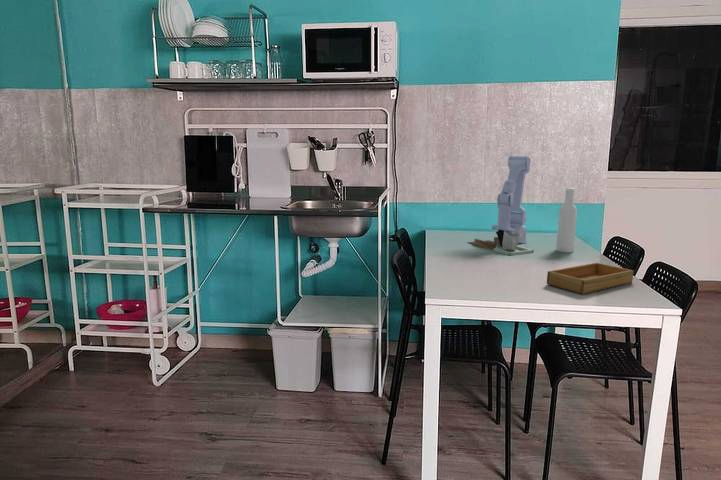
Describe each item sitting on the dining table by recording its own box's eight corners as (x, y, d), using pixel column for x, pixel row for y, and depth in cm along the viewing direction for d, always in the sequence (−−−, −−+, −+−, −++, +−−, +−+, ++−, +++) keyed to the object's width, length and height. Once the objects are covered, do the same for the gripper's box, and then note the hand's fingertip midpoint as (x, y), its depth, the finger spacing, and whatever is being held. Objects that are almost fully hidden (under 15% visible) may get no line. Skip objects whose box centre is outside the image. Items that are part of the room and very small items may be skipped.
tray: (595, 275, 214) (596, 261, 212) (632, 284, 201) (633, 269, 200) (546, 286, 197) (547, 271, 196) (582, 296, 184) (584, 280, 183)
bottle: (570, 249, 260) (576, 187, 254) (575, 253, 252) (581, 189, 246) (553, 249, 260) (559, 187, 255) (558, 252, 253) (563, 188, 247)
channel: (495, 242, 274) (496, 236, 273) (515, 247, 262) (515, 241, 261) (474, 244, 267) (474, 239, 267) (493, 250, 255) (493, 244, 255)
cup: (519, 256, 250) (523, 241, 246) (502, 253, 250) (506, 238, 247) (515, 244, 260) (519, 230, 256) (499, 242, 260) (503, 228, 256)
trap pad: (488, 240, 279) (488, 240, 278) (495, 242, 274) (495, 241, 274) (467, 242, 272) (467, 242, 272) (473, 244, 268) (473, 244, 268)
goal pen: (516, 248, 261) (516, 245, 261) (533, 252, 251) (533, 250, 251) (493, 250, 255) (493, 248, 254) (510, 255, 245) (510, 252, 245)
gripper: (487, 216, 261) (485, 243, 264) (508, 221, 249) (506, 249, 251) (498, 215, 265) (496, 242, 267) (519, 220, 252) (517, 248, 255)
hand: (502, 246), depth 260 cm, fingers closed
